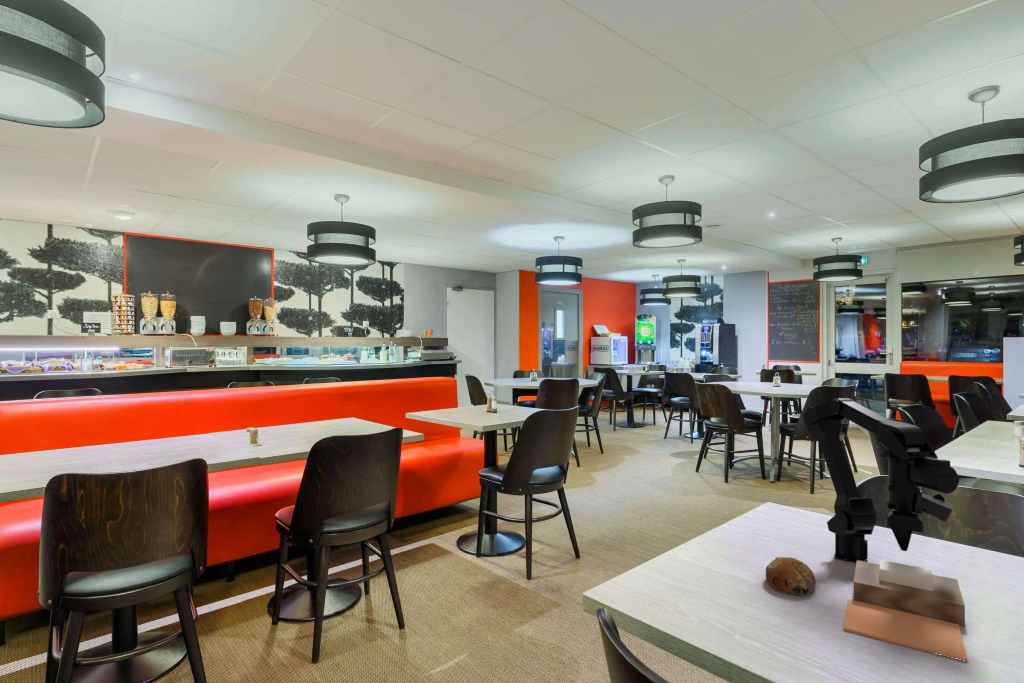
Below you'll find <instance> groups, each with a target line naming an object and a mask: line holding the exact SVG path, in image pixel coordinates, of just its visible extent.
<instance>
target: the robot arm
mask: <svg viewBox="0 0 1024 683" xmlns="http://www.w3.org/2000/svg"><path fill="white" fill-rule="evenodd" d="M844 420H849V421H850V422H852V423H853V424H856V425H857V426H859V427H861V428H863V429H864V430H866V431H867V432H870V433H871V434H872V435H874V436H875V437H876V440H877V441H878V443H879V444H881V445H882V446H883V447H884V448H886V450H885V451H883V452H882V453H881V454H879V456H880V458H884V459H886V460H887V459H888V468H887V470H888V477H887V480H888V483H887V484H888V487H887V488H888V490H887V491H888V497H887V498H886V499H887V500H886V502H887V503H886V504H887V505H886V506H887V510H891V511H888V512H887V513H886V514H887V516H886V521H887V523H886V524H887V525H886V526H887V527H889V528H890V530H892V531H891V532H892V533H893V535H894V537H895V539H896V542H897V545H898V547H899V548H900V551H902V552H907V551H908V549H909V546H910V542H911V538H912V534H913V532H917V533H922V532H924V520H923V518H922V517H921V516H920V515H922V514H923V512H924V513H925V514H928V515H930V516H932V517H935V518H936V519H938V520H939V521H941V522H943V523H944V522H945V523H947V522H948V521H949V518H950V517H951V515H952V513H953V511H954V508H953V505H951V504H950V503H949V502H946V501H945V496H944V494H946V495H947V494H952V493H953V492H954V491H956V489H957V488H958V487H959V483H960V476H958V473H957V471H956V470H955V468H954V467H952V466H951V461H950V460H948V459H939V458H938V455H937V453H936V451H935V449H933V447H932V445H931V444H930V442H929V441H928V439H927V438H926V435H925V433H924V431H923V429H922V428H920V426H917V425H913V424H910V423H907V422H903V421H896V420H892V419H889V418H887V417H885V416H883V415H881V414H879V413H877V412H875V411H873V410H871V409H869V408H867V407H865V406H863V405H862V404H859V403H858V402H856V401H855V400H854V399H852V398H848V397H846V398H845V397H844V398H843V397H842V398H841V397H840V398H837V397H836V398H834V399H831V400H830V401H828V402H825V403H822V404H818V405H816V406H813V407H812V406H811V407H810V406H809V407H807V409H806V410H805V411H804V414H803V422H804V424H805V426H806V428H807V430H808V432H809V433H810V435H812V437H814V438H815V439H816V440H817V441H818V443H819V446H820V448H821V452H822V455H823V457H824V458H823V459H824V461H825V464H826V466H827V470H828V474H829V476H830V479H831V482H832V485H833V488H834V491H835V493H836V498H835V502H834V505H833V509H834V510H833V511H834V515H833V516H832V517H831V518H830V519H828V520H827V521H826V524H827V529H828V531H829V532H831V533H833V534H834V539H835V540H834V541H835V544H834V546H835V547H834V548H835V550H834V551H835V552H834V555H833V556H834V558H835V559H838V560H844V561H848V562H854V563H856V562H857V560H859V561H864V562H866V561H867V560H868V557H869V555H868V553H869V552H868V551H869V549H868V548H869V546H868V545H869V542H868V540H867V539H866V535H871V536H872V535H873V531H874V529H875V527H876V525H877V522H878V518H877V515H878V512H877V511H876V509H875V506H874V504H873V500H872V498H870V497H864V496H863V495H862V493H860V492H859V489H858V487H857V484H856V481H855V478H854V475H853V472H852V469H851V467H850V463H849V461H848V458H847V456H846V453H845V450H844V447H843V444H842V442H841V439H840V436H841V432H842V428H843V424H842V422H843V421H844ZM922 488H925V489H928V490H932V491H935V493H932V494H931V495H930V494H925V493H923V490H922ZM938 492H939V493H938ZM941 493H943V494H941Z"/></svg>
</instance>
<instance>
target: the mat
mask: <svg viewBox="0 0 1024 683" xmlns="http://www.w3.org/2000/svg"><path fill="white" fill-rule="evenodd" d="M845 607H846V608H845V615H844V620H843V627H842V630H843V631H844V632H845V631H846V632H848V633H849V632H850V633H853V634H856V635H862V636H864V637H869V638H872V639H876V640H879V641H884V642H888V643H892V644H895V645H899V646H903V647H906V646H907V648H910V647H911V648H910V649H914V650H918V649H919V650H918V651H922V652H925V651H928V652H927V653H929V652H932V653H931V654H933V653H937V654H942V655H945V656H949V657H953V658H958V659H961V660H965V661H968V662H969V660H968V656H967V653H966V649H965V644H964V640H963V636H962V632H961V628H960V625H959V624H954V623H950V622H946V621H941V620H937V619H933V618H929V617H924V616H920V615H916V614H911V613H907V612H903V611H898V610H894V609H890V608H885V607H881V606H877V605H872V604H868V603H864V602H859V601H855V600H854V599H850V598H847V601H846V606H845ZM937 654H936V655H937ZM945 656H944V657H945Z"/></svg>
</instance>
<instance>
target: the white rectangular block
mask: <svg viewBox="0 0 1024 683" xmlns="http://www.w3.org/2000/svg"><path fill="white" fill-rule="evenodd" d="M879 564H880V580H881V581H886V582H890V583H895V584H900V585H905V586H910V587H914V588H919V589H924V590H929V591H934V584H933V575H934V574H933V570H932V569H931V568H926V567H921V566H915V565H909V564H906V563H905V564H904V563H899V562H895V561H894V562H893V561H889V560H884V559H883V560H882V559H879Z"/></svg>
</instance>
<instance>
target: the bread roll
mask: <svg viewBox="0 0 1024 683" xmlns="http://www.w3.org/2000/svg"><path fill="white" fill-rule="evenodd" d="M765 579H766V582H767V584H768V585H769V587H770V586H771V587H772V588H771V587H770V588H771V589H773V588H774V589H773V590H775V591H777V592H779V593H782V592H783V594H785V593H786V595H791V594H792V596H800V597H801V596H806V595H809V594H811V593H812V592H813V591H814V589H815V590H816V578H815V575H814V572H813V571H812V569H811V568H810V567H809V565H807V564H806V563H804V562H803V561H801V560H799V559H797V558H794V557H791V556H789V557H787V556H786V557H785V556H781V557H780V556H779V557H775V558H774V560H772V561H770V562H769V564H768V565H767V566H766V567H765Z"/></svg>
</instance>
